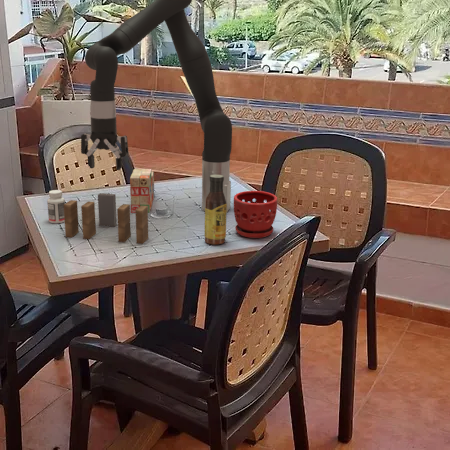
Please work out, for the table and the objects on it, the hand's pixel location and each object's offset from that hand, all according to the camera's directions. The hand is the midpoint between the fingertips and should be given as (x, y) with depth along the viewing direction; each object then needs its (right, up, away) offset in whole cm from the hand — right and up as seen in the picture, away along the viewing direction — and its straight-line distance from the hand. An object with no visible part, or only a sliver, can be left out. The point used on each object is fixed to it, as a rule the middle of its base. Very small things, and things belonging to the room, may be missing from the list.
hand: (105, 168), depth 199 cm
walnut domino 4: (+12, -22, -7) cm, 26 cm away
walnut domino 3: (+7, -21, -6) cm, 23 cm away
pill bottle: (-17, -16, +9) cm, 25 cm away
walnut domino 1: (-9, -20, -3) cm, 22 cm away
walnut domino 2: (-4, -20, -4) cm, 21 cm away
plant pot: (+45, -20, 0) cm, 50 cm away
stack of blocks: (+8, -10, +29) cm, 32 cm away
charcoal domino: (0, -17, +6) cm, 18 cm away
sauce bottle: (+34, -22, -8) cm, 41 cm away
